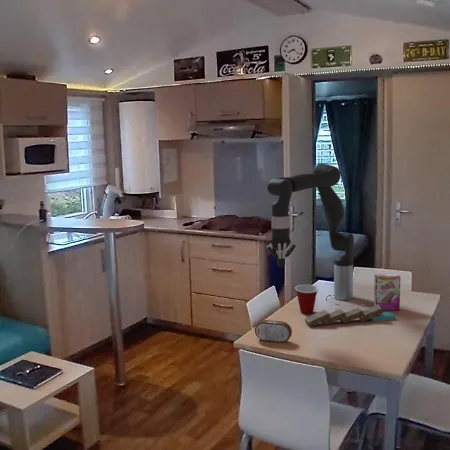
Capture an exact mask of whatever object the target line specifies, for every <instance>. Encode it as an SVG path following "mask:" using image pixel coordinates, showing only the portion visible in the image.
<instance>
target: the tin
mask: <svg viewBox="0 0 450 450" xmlns="http://www.w3.org/2000/svg"><path fill="white" fill-rule="evenodd" d="M254 332H255V333H254V334H255V336H256V337H257V338H258V339H259V340H260V341H263V342H274V343H285V342H288V341H289V340H290V338H291V337H292V333H293V329H292V327H291V326H290V324H289V323H287V322H285V321H282V320H281V321H280V320H271V319H270V320H269V319H262V320H260V321H258V322H257V323H256V325H255V327H254Z"/></svg>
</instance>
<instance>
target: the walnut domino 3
mask: <svg viewBox="0 0 450 450" xmlns="http://www.w3.org/2000/svg"><path fill="white" fill-rule="evenodd" d="M363 311H364V310H363V309H362V308H360V307H359V306H358V307H356V308H352V309H350V310H348V311H344V312H345V314H346V317H345V318H343V319H341V320H339V321H340V323H342V324H343V325H344V324H346V323H347V324H348V323H350V322H352V321H354V320H357V319H359V317H362V316H364V313H363Z"/></svg>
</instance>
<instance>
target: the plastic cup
mask: <svg viewBox="0 0 450 450" xmlns="http://www.w3.org/2000/svg"><path fill="white" fill-rule="evenodd" d="M294 288H295V291H296V295H297V301H298V306H299V312H300V314H304V315H310V314H311V315H312V314H313V313H314V309H315V308H314V307H315V305H316V298H317V294H318V292H319V287H318V286H316V285H314V284H299V285H296V286H295V287H294Z"/></svg>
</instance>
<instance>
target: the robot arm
mask: <svg viewBox="0 0 450 450" xmlns="http://www.w3.org/2000/svg"><path fill="white" fill-rule="evenodd" d="M341 174H342V173H341V170H340V169H339V168H338V167H337V166H333V165H331V164H327V163H322V162H321V163H318V164H316V165H315V166H314V168H313V172H312V173H298V174H294V175H289V176H286V177H285V176H284V177H275V178H272V179H271V180H269V181H268V182H267V183H268V184H267V186H266V187H267V191H268V193H269V194H270V195H272V196H274V197H275V196H277V197H278V199H277V201H274V202H273V203H272V204H271V241H270V243H269V244H268V245H266V246H265V248H266V249H267V250H268V252H269V253H270V254H271V256H273V257H274V258H275V259H277V266H278V267H280V268H284V267H285V265H286V258H287V257H290V255H291V254H292V253H293V251H294V250H295V248H296V247H297V245H296V244H294V243H292V241H291V238H290V237H291V236H290V235H291V233H290V226H291V223H290V216H289V215H290V214H289V213H290V211H289V210H290V209H289V206H290V202H291V198H292V194H293V193H297V192H300V191H304V190H308V189H314V188H316V189H317V191H318V194H319V198H320V201H321V204H322V210H323V212H324V213H323V214H324V216H325V220H326V224H327V227H328V235H329V240H330V241H329V242H330V247H331V249H332V250H333V251H336V252H337V251H338V252H344V255H341V256H338V257H335V258H334V259H333V272H334V273H333V284H334V285H333V288H334V289H333V297H334V299H335V300H339V301H348V300H352V299H353V298H354V251H355V250H354V249H355V238H354V234H353V233H352V232H343V231H342V232H341V231H340V232H339V231H338V228H339V225H340V224H341V222H342V221H343V219H344V218H345V217H344V216H345V209H344V205H343V201H342V200H341V198H340V197H339V194H337V193H336V191H335V190H334V189H333V188H332V187H333V186H334V187H335V186H336V185H338V183H339V182H340V180H341V176H342V175H341ZM273 249H275V251H274V250H273Z"/></svg>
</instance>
